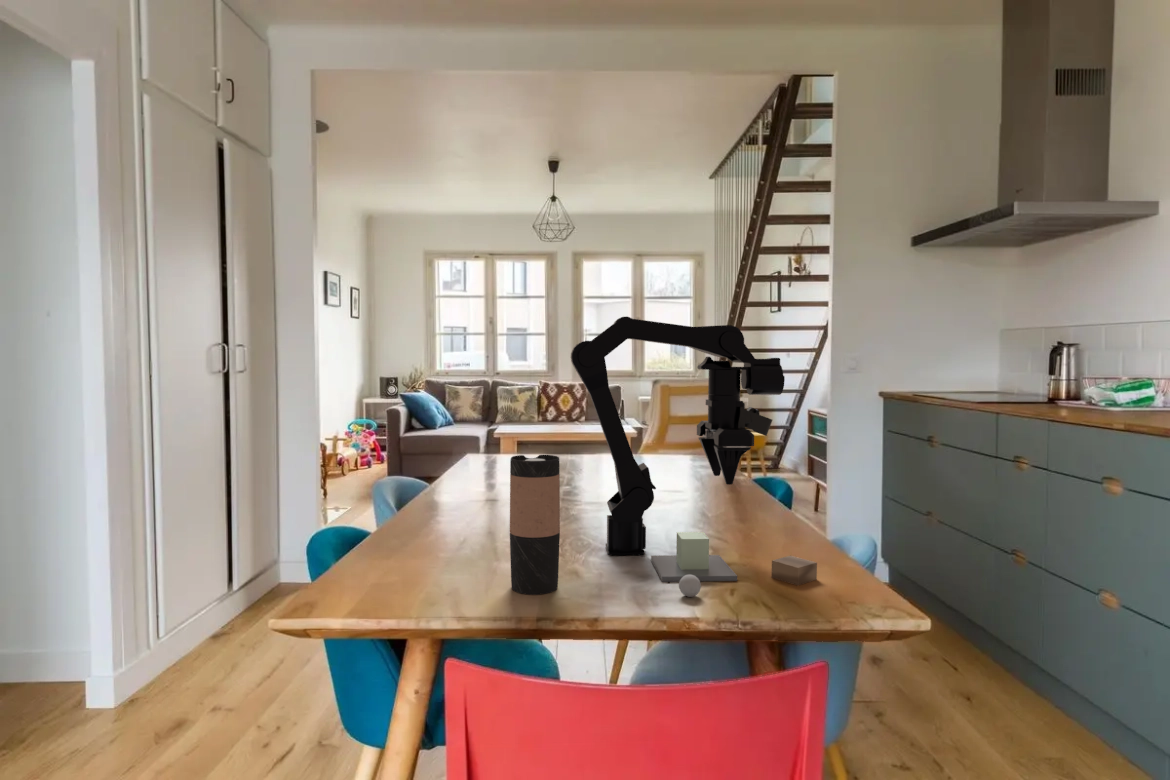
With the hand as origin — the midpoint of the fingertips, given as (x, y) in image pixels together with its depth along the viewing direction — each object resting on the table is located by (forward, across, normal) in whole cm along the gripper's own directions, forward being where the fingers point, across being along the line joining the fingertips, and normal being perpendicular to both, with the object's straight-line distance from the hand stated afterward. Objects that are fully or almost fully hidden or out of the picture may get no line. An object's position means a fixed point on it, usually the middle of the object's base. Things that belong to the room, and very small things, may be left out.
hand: (722, 479), depth 131 cm
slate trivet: (+13, -12, +8) cm, 19 cm away
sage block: (+12, -12, +8) cm, 19 cm away
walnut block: (+13, -17, -8) cm, 23 cm away
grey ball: (+11, -25, +11) cm, 30 cm away
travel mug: (+13, -20, +34) cm, 42 cm away
